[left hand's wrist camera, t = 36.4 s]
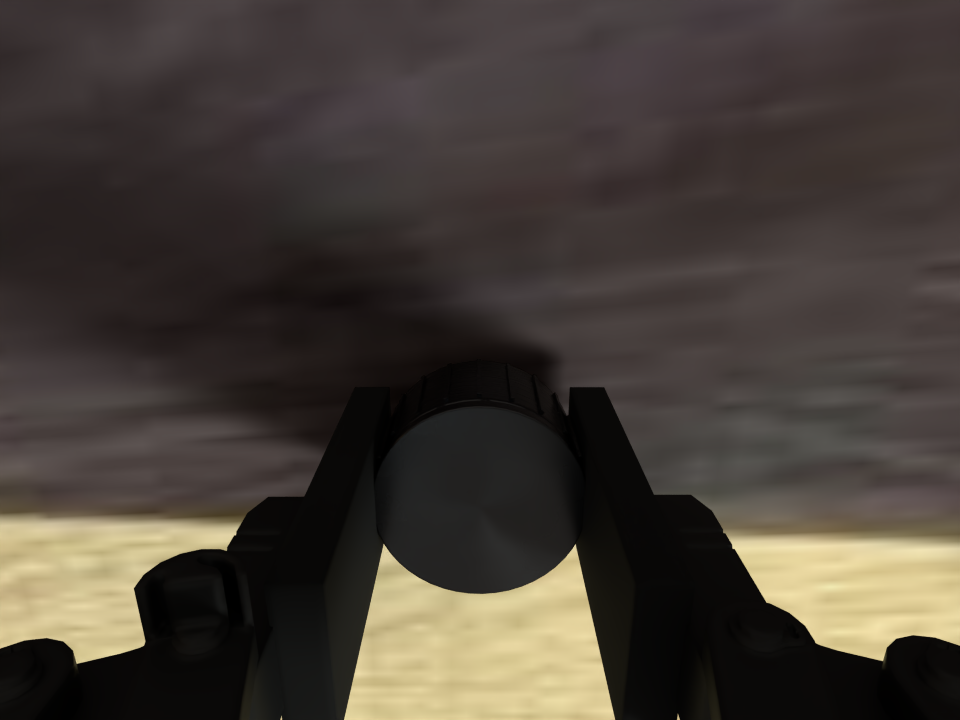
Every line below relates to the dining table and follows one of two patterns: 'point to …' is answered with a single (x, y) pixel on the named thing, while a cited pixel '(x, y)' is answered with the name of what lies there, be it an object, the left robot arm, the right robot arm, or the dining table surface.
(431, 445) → the cap
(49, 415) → the dining table surface
